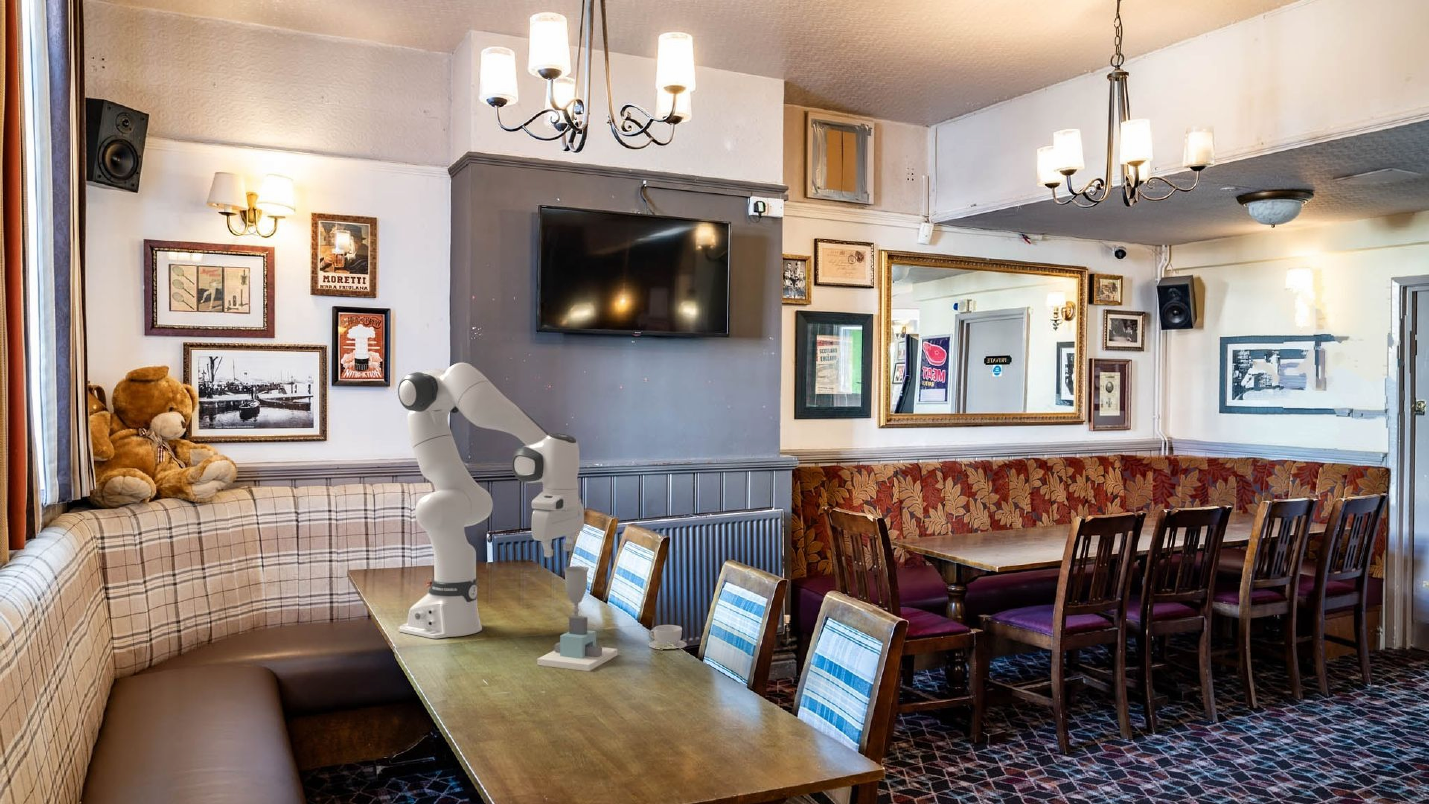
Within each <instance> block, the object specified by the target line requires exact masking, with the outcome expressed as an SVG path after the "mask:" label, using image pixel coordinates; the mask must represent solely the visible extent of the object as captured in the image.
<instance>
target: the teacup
mask: <svg viewBox="0 0 1429 804" xmlns="http://www.w3.org/2000/svg"><path fill="white" fill-rule="evenodd" d="M682 632H683V627H682V626H680V625H673V624H662V625H656V626H655V627H653V629H651V630H650V631H649V635H650V638H652V639H653V641H650V642H649V643H648V647H650V648H652V649H656V650H663V649H660V648H655V647H657V646H655V644H657V643H658V644H659V645H660V646H664V647H667V645H668V646H672V645H670V644H673V645H674V646H676V647H678V648H679V649H683V648H685V647H687V646H688V644H687V642H686V641H684V640H681V638H682V635H683V633H682ZM656 642H657V643H656ZM667 642H669V643H670V644H669V643H667ZM663 651H664V650H663Z"/></svg>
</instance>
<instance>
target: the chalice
mask: <svg viewBox="0 0 1429 804" xmlns="http://www.w3.org/2000/svg"><path fill="white" fill-rule="evenodd" d="M589 569H590V568H589V566H582V565H581V566H580V565H577V566H576V565H574V566H568V567H567V566H566V567H564V568H563V571H564V587H565V591H566V594H567V595H568V598H569V600H570V602H571V603H572V604H573V605H574V608H573V610H572V611H573V613H574V615H573V616H579V615H578V614H579V612H580V610H579V606H578V605H579V603H581V602H582V601H583V600H584V599H583V598H584V596H585V595H586V591H587V588H588V572H589ZM567 632H569V630H568V631H567Z"/></svg>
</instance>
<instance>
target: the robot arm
mask: <svg viewBox="0 0 1429 804" xmlns="http://www.w3.org/2000/svg"><path fill="white" fill-rule="evenodd" d="M397 395H398V399H399V402H400V404H401V405H402V406H403V408H405V409H406V410H408V411H409V412H408V414H407V415H406V416H407V417H406V421H407V430H408V434H409V438H410V443H411V446H412V450H413V453H414V455H415V458H416V462H417V464H418V467H419V470H420V473H421V475H422V476H423V478H424V479H427V480H428V481H429V482H430V483H432V484H433V485H434V486H435V487H436V489H437V490H435V491H433V492H430V493H428V494H425V495H424V496H422V497H421V498H419V500H418V501H417V503H416V506H415V509H414V517H415V520H416V522H417V524H418V525H419V526H420V527H421V529H423V530H424V531H425V532H426V534H427V536H428V538H429V540H430V544H431V546H432V553H433V571H434V572H433V574H434V575H433V579H432V580H430V581H428V582H425V588H429V590H428V593H426V594H425V595H424V596H423V597H421V598H420V599H419V600H417V602H416V603H414V604H413V605H412V606H411V607H410V608H409V611H408V613H407V614H408V615H407V622H406V623H403V624H401V625H400V626H398V632H400V633H404V634H409V635H414V636H419V637H424V638H429V639H434V640H435V639H441V638H442V639H443V638H449V637H451V638H452V637H453V638H454V637H462V636H468V635H472V634H476V633H479V632H481V631H482V630H483V626H482V623H481V621H480V620H481V619H480V614H479V610H478V607H479V606H478V599H477V598H478V591H479V586H478V577H477V552H476V548H475V547H474V546H473V545H472V544H470V543H469V542H468V539H467V536H466V532H465V527H471V526H475V525H477V524H479V523H482V522H483V521H484V520H487V518H488V517H489V516H491V514H492V511H493V508H494V503H493V499H492V496H491V494H490V492H488V490H486V489H485V488H484V487H482V486H481V485H480V484H478V483H477V482H476V481H475V479H474V477H472V476H471V474H470V472H469V471H468V469H467V468H466V467H465V464H464V463H463V461H462V459H461V456H460V453H459V450H458V448H457V444H456V442H455V439H454V436H453V433H452V430H451V427H450V425H449V421H448V419H449V418H448V417H449V414H450V413H453V414H457V413H458V412H460V413H461V414H462V416H463V417H465V418H466V420H468V421H469V422H470V423H472V424H473V425H475V426H476V427H479V428H482V429H488V430H493V431H494V430H495V431H500V432H505V433H507V434H510V435H513V436H514V437H515V438H516V437H517V439H518V440H520V441H521V442H522V443H523V444H525V445H524V446H521V447H518V448H517V449H516V450H515V451H514V453H513V455H512V458H511V471H512V473H513V475H514V476H515V478H516V479H517V480H519V481H520V482H522V483H528V484H534V483H542V491H541V492H540V493H539V494H538V495H537V496H536V497H535V498H533V499H532V501H531V509H533V511H532V514H531V537H532V539H533V540H534V541H539V542H541V547H542V548H543V557H545V558H552V557H553V555H554V549H552V546H551V544H552V543H553V540H555V539H558V538H561V537H565V541H564V543H563V547H562V550H563V551H564V552H571V551H572V549H573V543H574V541H575V538H576V533H578V532H581V531H583V529H584V527H585V512H584V511H585V510H584V505H583V504H582V499H581V498H580V496H579V483H578V475H579V471H580V448H579V443H578V441H577V439H576V438H575V436H572V435H570V434H564V433H560V432H559V433H554V432H553V433H548V431H547V430H545V429H544V428H543V427H542V426H541V425H540V424H539V423H537V422H536V420H534V419H533V418H532V417H531V416H530V415H529V414H527V412H525V411H524V410H522V409H521V408H520V407H519V406H517V405H516V404H515V403H514V402H512V401H511V400H510V399H509V398H507V397H506V396H505V395H504V394H503V393H502V392H501V391H500V390H499V389H498V388H497V387H496V386H495V385H494V384H493V383H492V382H491V381H490V380H489V379H488V378H487V377H486V376H485V375H484V374H483V373H482V372H481V371H480V370H478V369H477V368H476V367H475V366H473V365H471V364H470V363H466V362H457V363H455V364H452V365H451V366H450V367H448V368H445V369H444V368H441V369H440V368H439V369H437V368H436V369H432V370H426V371H421V372H419V371H415V372H411V373H409V374H407V375H405V376H404V377H402V378H401V380H400V381H399V383H398V388H397Z"/></svg>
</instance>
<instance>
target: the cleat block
mask: <svg viewBox="0 0 1429 804" xmlns="http://www.w3.org/2000/svg"><path fill="white" fill-rule="evenodd" d="M568 631H569V632H568ZM568 631H567V632H564V633H562V634H561V635H560V636H559V640H560V641H559V642H560V656H563V657H572V658H580V659H583V658H584V657H585V645H588V646H597V631H596V630H588V616H581V615H578V616H574V615H571V616H569V617H568Z"/></svg>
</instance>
